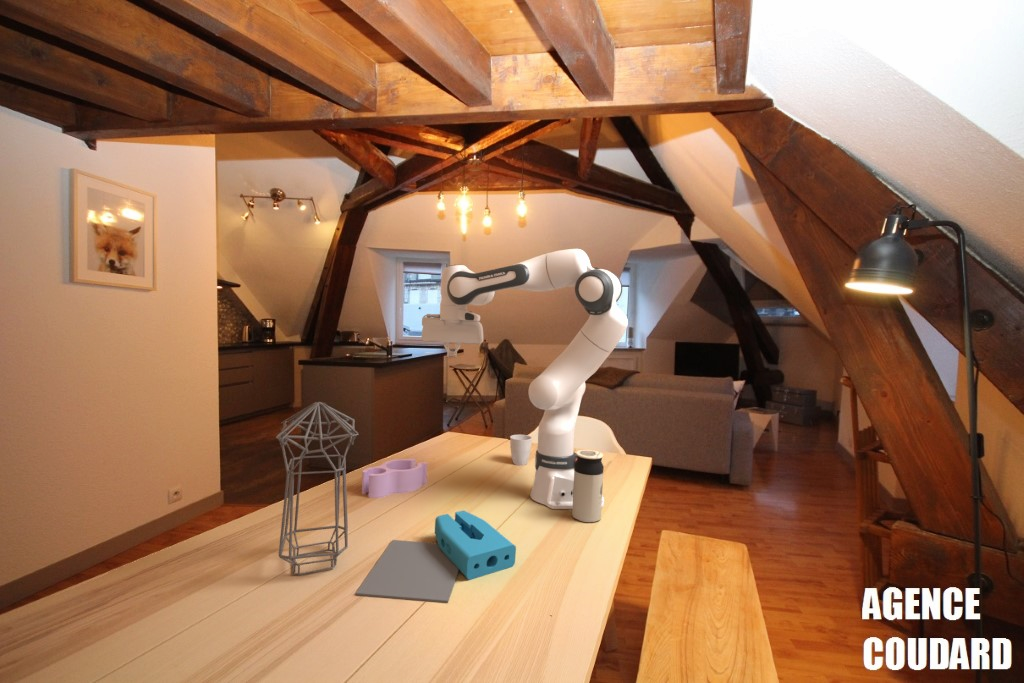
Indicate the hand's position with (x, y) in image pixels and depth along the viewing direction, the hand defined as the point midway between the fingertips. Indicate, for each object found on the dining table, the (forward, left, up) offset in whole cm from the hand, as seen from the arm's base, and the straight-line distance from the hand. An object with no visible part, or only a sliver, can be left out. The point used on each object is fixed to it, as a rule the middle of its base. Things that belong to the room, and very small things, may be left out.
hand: (451, 356), depth 155 cm
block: (-9, +39, -38) cm, 55 cm away
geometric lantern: (+17, +57, -41) cm, 72 cm away
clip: (+15, +11, -42) cm, 45 cm away
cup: (-23, -22, -41) cm, 52 cm away
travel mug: (-44, +23, -41) cm, 65 cm away
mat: (-5, +56, -41) cm, 70 cm away
